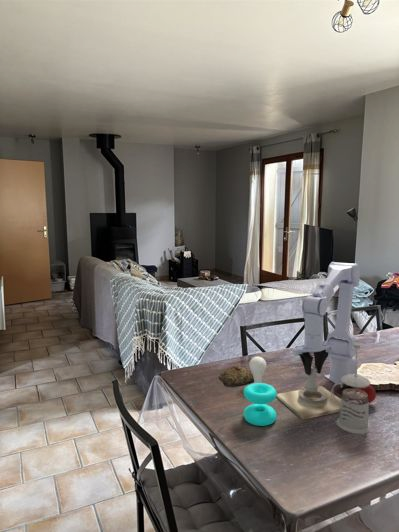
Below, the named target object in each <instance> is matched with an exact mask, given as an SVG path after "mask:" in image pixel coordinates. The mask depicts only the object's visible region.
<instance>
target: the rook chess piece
mask: <svg viewBox="0 0 399 532" xmlns="http://www.w3.org/2000/svg"><path fill="white" fill-rule="evenodd" d="M316 368H317V367H316V366H315V364H314V365H311V375H307V380H306V381H305V383H304V386H303V387H304V388H303V389H306V390H307V391H309V392H316V391H317V390H318V386H319V385H318V382H317V369H316Z"/></svg>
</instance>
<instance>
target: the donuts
mask: <svg viewBox="0 0 399 532" xmlns="http://www.w3.org/2000/svg"><path fill="white" fill-rule="evenodd" d="M277 394H278V393H277V389H275V387H274V386H273V385H271V384H268V383H265V382H261V383H254V382H253V383H250V384H248V385H247V386H245V387H244V389H243V396H244V398H245V399H246V400H247V401H249V402H250V403H252V404H249V405H248V406H246V407H245V408H244V410H243V416H244V419H245V421H247V422H248V423H249V424H251V425H254V426H259V427H262V426H263V427H265V426H268V425H269V426H270V425H271V424H273V423H275V421H276V420H277V412H276V410H275V409H274V408H273V407H272V406H271V405H270V404H271V403H273V402H274V401H275V400H276V398H277V397H276V396H277ZM268 404H269V405H268Z"/></svg>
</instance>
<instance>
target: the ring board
mask: <svg viewBox="0 0 399 532" xmlns="http://www.w3.org/2000/svg"><path fill="white" fill-rule="evenodd" d="M333 394H334V393H332V397H331V390H329V389H326V388H325V387H324V386H322V385H318V390H317V391H316V392H309V391H307V390H306V389H305V388H302V389H296V390H291V391H285V392H280V393H277V396H276V398H277V399H278V400H279V401H281V402H282V403H283V404H284V405H285V406H287V408H288V409H289V410H291V411H292V412H293V413H294V414H296V415H297V416H298V417H299V418H300V419H302V420H307V419H312V418H317V417H321V416H327V415H330V414H335V413H340V407H341V404H339V403H341V398H340V397H339V396H337V395H335V394H334V397H335V399H336V400H337V401H338V402H339V403H338V402H337V401H336V400H335V399H334V397H333ZM332 398H333V400H334V402H335V403H336V404H338V405H339V406H340V407H339V406H338V405H336V404H335V403H334V402H333V400H332ZM347 407H349V406H346V408H347ZM349 409H350V410H352V408H349Z"/></svg>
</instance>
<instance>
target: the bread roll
mask: <svg viewBox="0 0 399 532" xmlns="http://www.w3.org/2000/svg"><path fill="white" fill-rule="evenodd" d="M219 379H220V381H222V382H223V384H224V385H226V386H228V387H229V386H232V387H233V386H241V385H245V384H249V383H252V382H253V383H254V378H253V373H252V371H251V370H249V368H246V367H243V366H241V365H232V366H230V367H228V368H227V369H226V370H224V371H223V372H221V373H219Z"/></svg>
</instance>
